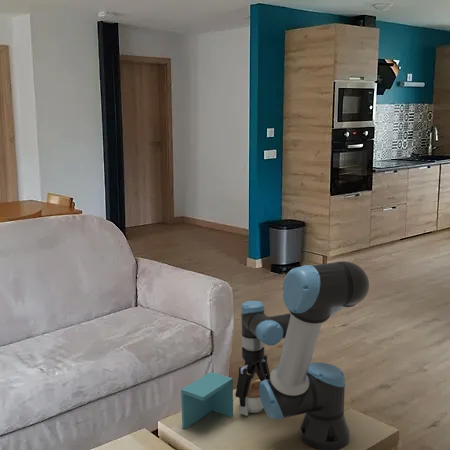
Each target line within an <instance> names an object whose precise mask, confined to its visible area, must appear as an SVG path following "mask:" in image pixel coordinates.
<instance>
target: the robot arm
mask: <svg viewBox="0 0 450 450" xmlns="http://www.w3.org/2000/svg"><path fill="white" fill-rule="evenodd" d="M369 289H370V281H369V277H368V275H367V273H366V272H365V271H364V269H363V268H362V267H360V266H359V265H358V264H356V263H353V262H351V261H344V260H343V261H342V260H340V261H336V262H328V263H321V264H314V265H310V264H305V265H302V266H298V267H294V268H292V269H290V270H289V271H288V272H287V273H286V276H285V277H284V279H283V283H282V292H283V294H282V299H283V302H284V304H285V307H286V308H287V311H288V312H289V313H284V314H278V315H271V316H268V315H267V314H266V313H265V311H266V310H265V305H264V303H263V302H262V301H259V300H248V301H245V302H243V303H242V304H241V313H240V316H241V346H242V347H241V357H242V359H243V360H244V364H243V365H244V366H242V367H241V366H239V367H238V376H237V377H238V378H237V384H236V389H235V397H236V398H238V399H239V398H240V401H239V408H240V409H239V411H240V413H239V414H240V415H244V416H249V412H248V397H247V393H248V389H249V386H250V383H251V381H252V379H254V377H255V374H256V375H257V377H258V380H259V381H260V385H259V392H260V398H261V402H262V405H263V407H264V408H263V410H264V411H265V413H266V415H267V416H268V417H269V418H270V419H271V420H281V419H282V420H284V419H286V418H290V417H294V416H300V415H303V414H304V416H303V419H302V422H301V425H300V428H299V436H300V439H301V441H302V442H303V443H304V444H305V445H306V446H309V447H311V448H314V449H317V450H338V449H341V448H344V447H345V446H346V445H347V444H348V443H349V441H350V430H349V426H348V423H347V420H346V418H345V417H346V416H345V390H346V389H345V387H346V379H345V377H346V376H345V373H344V371H343V370H342V369H341V368H339V367H337V366H336V365H333V364H331V363H325V362H311V361H312V358H313V355H314V353H315V352H314V351H315V348H316V344H317V341H318V338H319V334H320V331H321V327H322V325H323V324H324V323H326V322H327V321H328V320H329V319H330V318H332V317H333V316H335V315H337V314H338V313H339V312H341V311H342V310H344V309H345V308H352V307H355V306H356V305H358V304H359V303H361V302H362V301H363V300H364V299H365V298H366V297H367V296H368V293H369ZM283 339H284V340H283ZM282 340H283V345H282V350H281V352H280V357H279V361H278V364H277V366H275V367H274V368H273V369H272V370H271V372H270V368H269V363H268V355H265V345H266V346H271V347H273V346H275V345H277V344H279V343H280V342H281V341H282Z"/></svg>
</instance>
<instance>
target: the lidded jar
mask: <svg viewBox="0 0 450 450" xmlns="http://www.w3.org/2000/svg"><path fill="white" fill-rule="evenodd" d="M260 382H261V381H260V380H251V383H250V386H249V389H248V393H247V397H248V413H250V414H257V413H260V412H262V411H263V410H264V407H263V405H262V402H261V398H260V392H259V385H260ZM238 401H239V402H240V398H238Z"/></svg>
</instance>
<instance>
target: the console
mask: <svg viewBox="0 0 450 450" xmlns="http://www.w3.org/2000/svg"><path fill="white" fill-rule="evenodd" d="M233 383H234V381H233V377H230V376H226V375H223V374H220V373H216V372H212V371H210V372H208V373H207V374H205V375H203V376H201V377H200V378H198V379H197V380H195V381H192V382H191V383H189V384H188V385H187V386H185V387H183V388H181V389H180V394H181V395H180V397H181V399H180V400H181V423H182V424H181V425H182V426H181V427H182V430H186V429H188V427H190V426H191V425H193V424H195V423H196V422H198V421H199V420H200V419H202V418H203V417H205V416H206V415H208V414H209V413H211V412H212V411H213V412H216V413H217V414H218V413H219V414H221V415H225V416H226V417H230V418H233V417H234V389H233V388H234V386H233V385H234V384H233Z"/></svg>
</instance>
